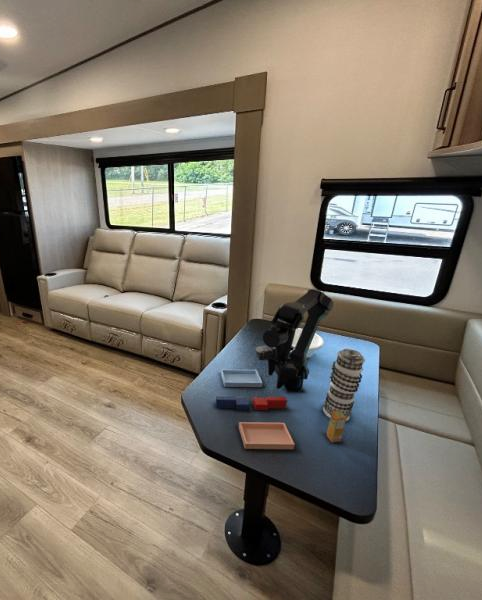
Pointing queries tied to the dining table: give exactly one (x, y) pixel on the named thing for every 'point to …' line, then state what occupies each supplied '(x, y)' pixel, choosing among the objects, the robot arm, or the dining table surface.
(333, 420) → the supplement box
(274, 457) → the dining table surface
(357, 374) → the leaning tower model
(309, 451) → the dining table surface
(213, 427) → the dining table surface
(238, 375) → the tray blue
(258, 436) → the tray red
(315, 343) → the bowl
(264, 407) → the red stepped block
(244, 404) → the dark blue block
